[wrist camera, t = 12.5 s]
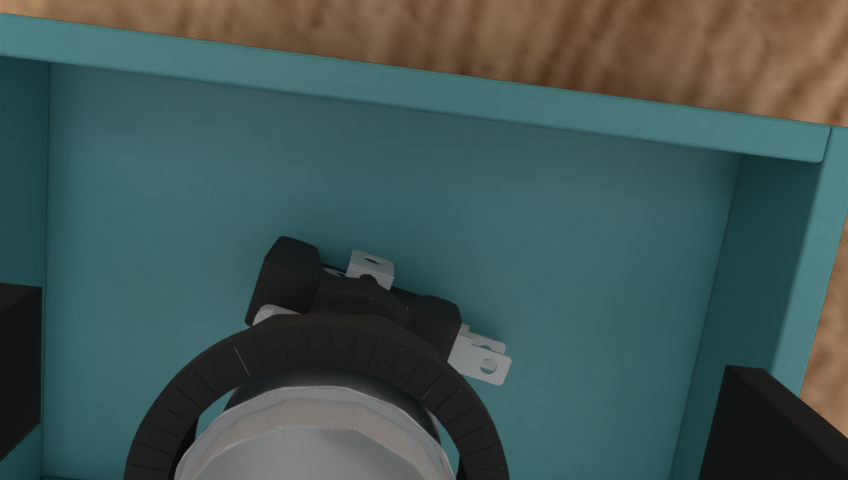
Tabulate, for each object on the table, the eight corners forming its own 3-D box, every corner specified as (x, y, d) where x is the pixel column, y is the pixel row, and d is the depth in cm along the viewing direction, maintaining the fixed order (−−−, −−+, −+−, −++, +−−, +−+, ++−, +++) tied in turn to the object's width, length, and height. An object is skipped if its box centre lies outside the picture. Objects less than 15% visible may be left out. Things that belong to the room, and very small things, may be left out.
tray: (769, 118, 19) (871, 130, 15) (669, 546, 21) (733, 654, 17) (28, 18, 17) (-79, 1, 13) (23, 486, 20) (-69, 587, 16)
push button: (534, 260, 19) (687, 461, 9) (462, 439, 20) (529, 795, 10) (285, 175, 18) (157, 293, 8) (224, 366, 19) (47, 673, 9)
